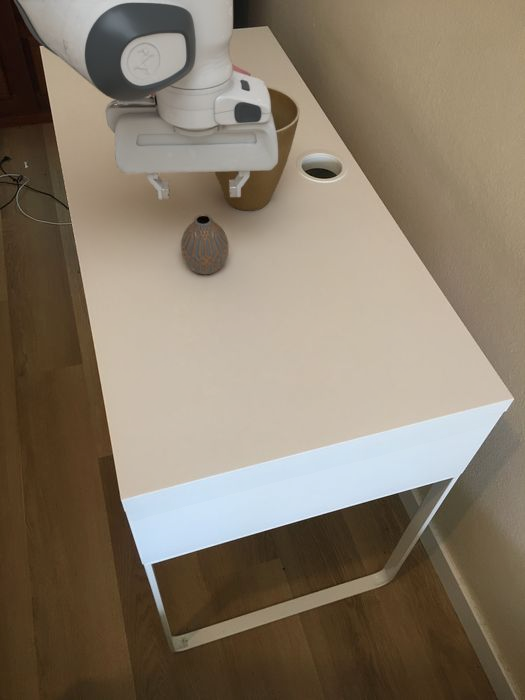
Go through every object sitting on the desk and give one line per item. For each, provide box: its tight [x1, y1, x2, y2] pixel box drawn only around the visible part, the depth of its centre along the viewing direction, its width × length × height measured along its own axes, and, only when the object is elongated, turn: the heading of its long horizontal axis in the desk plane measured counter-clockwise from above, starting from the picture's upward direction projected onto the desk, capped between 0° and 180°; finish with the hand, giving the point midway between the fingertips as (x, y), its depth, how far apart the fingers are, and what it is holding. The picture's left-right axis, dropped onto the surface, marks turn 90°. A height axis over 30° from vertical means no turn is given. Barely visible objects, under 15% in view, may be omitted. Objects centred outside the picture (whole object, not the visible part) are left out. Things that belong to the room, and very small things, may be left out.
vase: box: [180, 213, 230, 275], centre depth 83 cm, size 7×7×9 cm
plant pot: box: [214, 85, 301, 212], centre depth 91 cm, size 15×15×16 cm
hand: (199, 195), depth 77 cm, fingers open, 8 cm apart
